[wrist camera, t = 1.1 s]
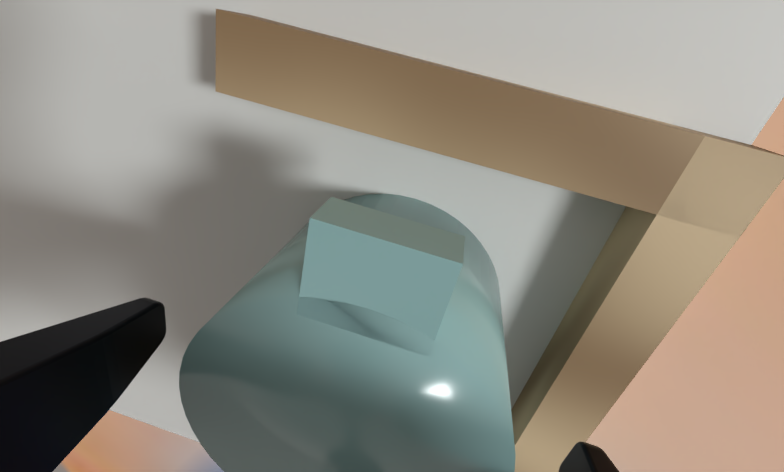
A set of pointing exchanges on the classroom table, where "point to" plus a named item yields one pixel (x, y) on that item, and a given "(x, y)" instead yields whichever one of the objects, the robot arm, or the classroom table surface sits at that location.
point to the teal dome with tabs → (358, 351)
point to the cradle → (546, 165)
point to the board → (319, 150)
